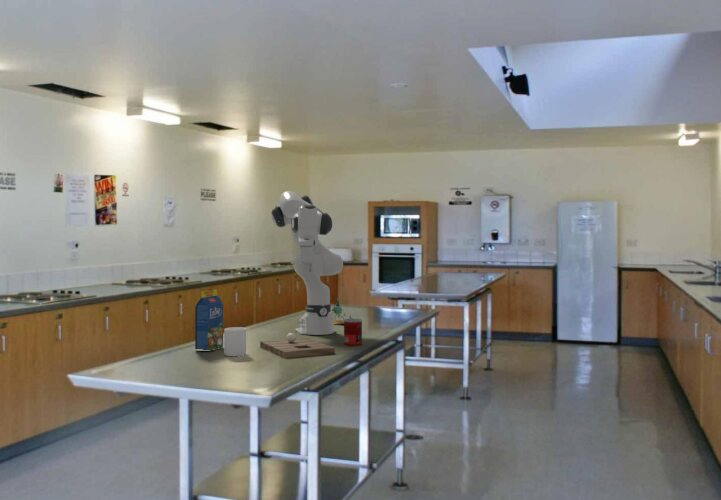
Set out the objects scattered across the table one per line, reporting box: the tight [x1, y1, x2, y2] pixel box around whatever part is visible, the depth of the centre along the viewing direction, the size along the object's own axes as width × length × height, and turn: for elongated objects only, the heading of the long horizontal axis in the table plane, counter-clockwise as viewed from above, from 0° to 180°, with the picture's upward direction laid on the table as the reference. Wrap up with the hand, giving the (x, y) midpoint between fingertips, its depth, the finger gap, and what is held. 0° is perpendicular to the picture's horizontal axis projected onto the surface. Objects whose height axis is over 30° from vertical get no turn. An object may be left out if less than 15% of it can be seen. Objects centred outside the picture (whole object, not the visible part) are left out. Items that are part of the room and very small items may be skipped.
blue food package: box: [194, 288, 224, 351], centre depth 293 cm, size 6×12×25 cm, turn 160°
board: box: [259, 337, 336, 359], centre depth 292 cm, size 28×22×2 cm
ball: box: [285, 332, 297, 342], centre depth 297 cm, size 4×4×4 cm
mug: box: [223, 326, 247, 357], centre depth 282 cm, size 9×12×11 cm
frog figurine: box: [330, 298, 353, 325], centre depth 375 cm, size 10×18×15 cm, turn 75°
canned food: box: [343, 318, 363, 347], centre depth 308 cm, size 8×8×11 cm
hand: (308, 273), depth 307 cm, fingers open, 8 cm apart
